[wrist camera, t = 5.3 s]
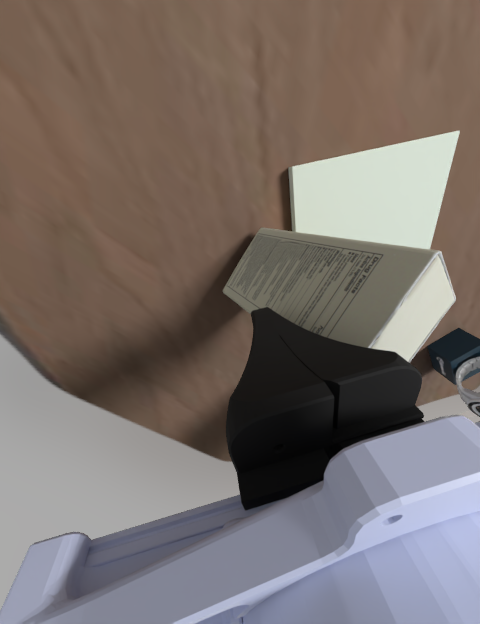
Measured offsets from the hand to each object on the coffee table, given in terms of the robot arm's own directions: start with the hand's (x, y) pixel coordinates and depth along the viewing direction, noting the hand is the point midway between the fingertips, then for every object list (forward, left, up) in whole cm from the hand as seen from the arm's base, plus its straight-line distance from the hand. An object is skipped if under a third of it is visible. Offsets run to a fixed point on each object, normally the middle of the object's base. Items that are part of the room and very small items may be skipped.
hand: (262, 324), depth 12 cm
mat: (0, -12, -9) cm, 15 cm away
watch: (-18, -26, -9) cm, 33 cm away
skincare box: (0, -2, -8) cm, 8 cm away
